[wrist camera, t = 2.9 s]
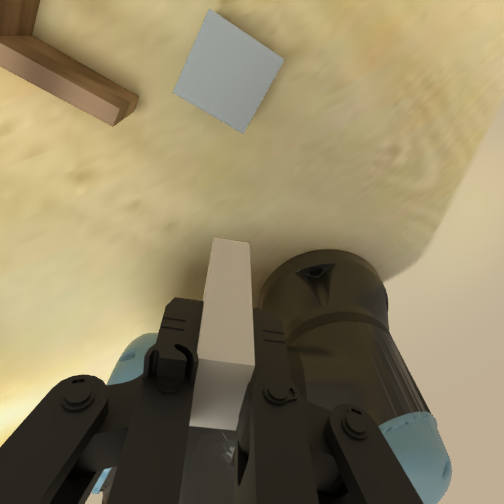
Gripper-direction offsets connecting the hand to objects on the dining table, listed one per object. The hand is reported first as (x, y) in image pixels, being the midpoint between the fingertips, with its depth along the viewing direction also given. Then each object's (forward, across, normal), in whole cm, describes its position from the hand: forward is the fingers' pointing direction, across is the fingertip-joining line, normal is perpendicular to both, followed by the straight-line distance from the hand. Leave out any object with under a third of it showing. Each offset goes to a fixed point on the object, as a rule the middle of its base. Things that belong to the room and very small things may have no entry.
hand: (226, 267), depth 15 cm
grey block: (+22, +2, -6) cm, 23 cm away
